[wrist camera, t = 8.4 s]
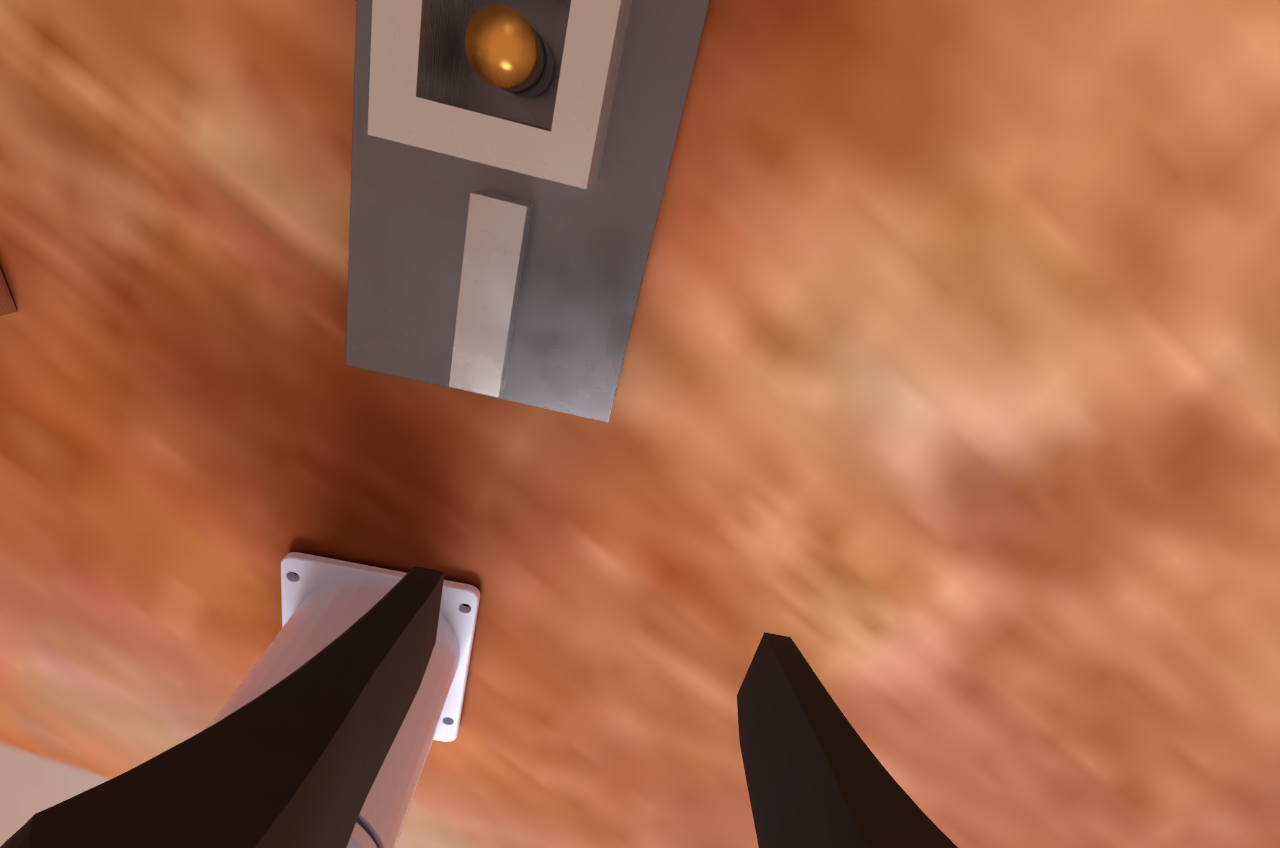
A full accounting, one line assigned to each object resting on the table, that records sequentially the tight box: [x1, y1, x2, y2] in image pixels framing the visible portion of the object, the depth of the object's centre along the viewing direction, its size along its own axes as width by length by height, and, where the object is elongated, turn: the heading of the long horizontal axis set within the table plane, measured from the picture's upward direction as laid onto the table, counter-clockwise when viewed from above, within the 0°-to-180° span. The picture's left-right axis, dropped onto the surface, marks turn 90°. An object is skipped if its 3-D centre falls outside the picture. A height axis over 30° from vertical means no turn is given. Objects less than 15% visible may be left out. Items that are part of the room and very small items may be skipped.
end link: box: [368, 0, 632, 189], centre depth 14 cm, size 5×5×4 cm
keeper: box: [346, 0, 709, 422], centre depth 17 cm, size 14×9×4 cm, turn 167°
